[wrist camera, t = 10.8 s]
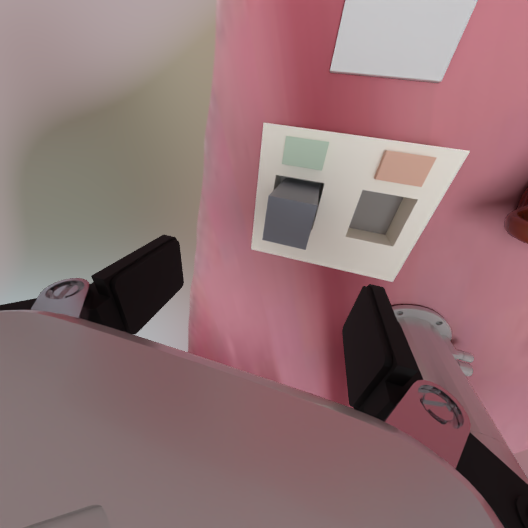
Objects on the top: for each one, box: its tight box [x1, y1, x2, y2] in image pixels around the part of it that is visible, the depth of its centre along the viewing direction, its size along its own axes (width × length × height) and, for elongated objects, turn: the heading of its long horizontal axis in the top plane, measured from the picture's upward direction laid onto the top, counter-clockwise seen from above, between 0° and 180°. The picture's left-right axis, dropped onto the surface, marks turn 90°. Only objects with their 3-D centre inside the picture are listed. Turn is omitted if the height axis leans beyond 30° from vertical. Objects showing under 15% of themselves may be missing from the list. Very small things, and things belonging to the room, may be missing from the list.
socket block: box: [251, 123, 470, 282], centre depth 24 cm, size 18×14×6 cm
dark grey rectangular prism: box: [262, 177, 320, 250], centre depth 21 cm, size 4×4×10 cm
